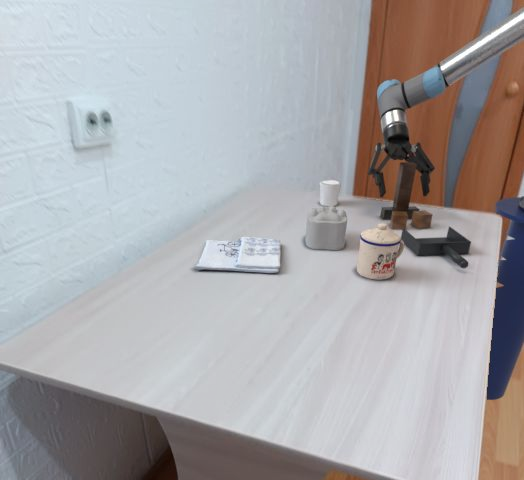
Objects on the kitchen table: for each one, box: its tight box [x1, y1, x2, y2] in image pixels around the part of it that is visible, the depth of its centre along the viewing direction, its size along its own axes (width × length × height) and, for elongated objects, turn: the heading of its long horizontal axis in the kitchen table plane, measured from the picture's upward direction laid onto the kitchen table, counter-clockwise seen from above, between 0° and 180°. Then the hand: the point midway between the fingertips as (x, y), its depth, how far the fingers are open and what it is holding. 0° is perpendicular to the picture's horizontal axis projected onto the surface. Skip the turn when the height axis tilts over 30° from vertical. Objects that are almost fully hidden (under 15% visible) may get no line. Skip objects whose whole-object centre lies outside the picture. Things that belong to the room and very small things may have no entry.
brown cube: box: [389, 211, 409, 230], centre depth 139 cm, size 4×4×4 cm
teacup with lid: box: [356, 222, 405, 281], centre depth 110 cm, size 12×9×12 cm
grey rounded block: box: [304, 205, 348, 251], centre depth 128 cm, size 10×13×9 cm
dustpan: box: [400, 226, 472, 269], centre depth 122 cm, size 22×14×3 cm, turn 8°
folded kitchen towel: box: [193, 235, 281, 274], centre depth 119 cm, size 19×20×2 cm
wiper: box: [379, 161, 420, 221], centre depth 143 cm, size 11×3×16 cm, turn 98°
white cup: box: [319, 179, 342, 207], centre depth 156 cm, size 7×7×7 cm
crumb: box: [410, 209, 434, 230], centre depth 140 cm, size 4×4×4 cm
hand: (404, 194), depth 142 cm, fingers open, 13 cm apart
